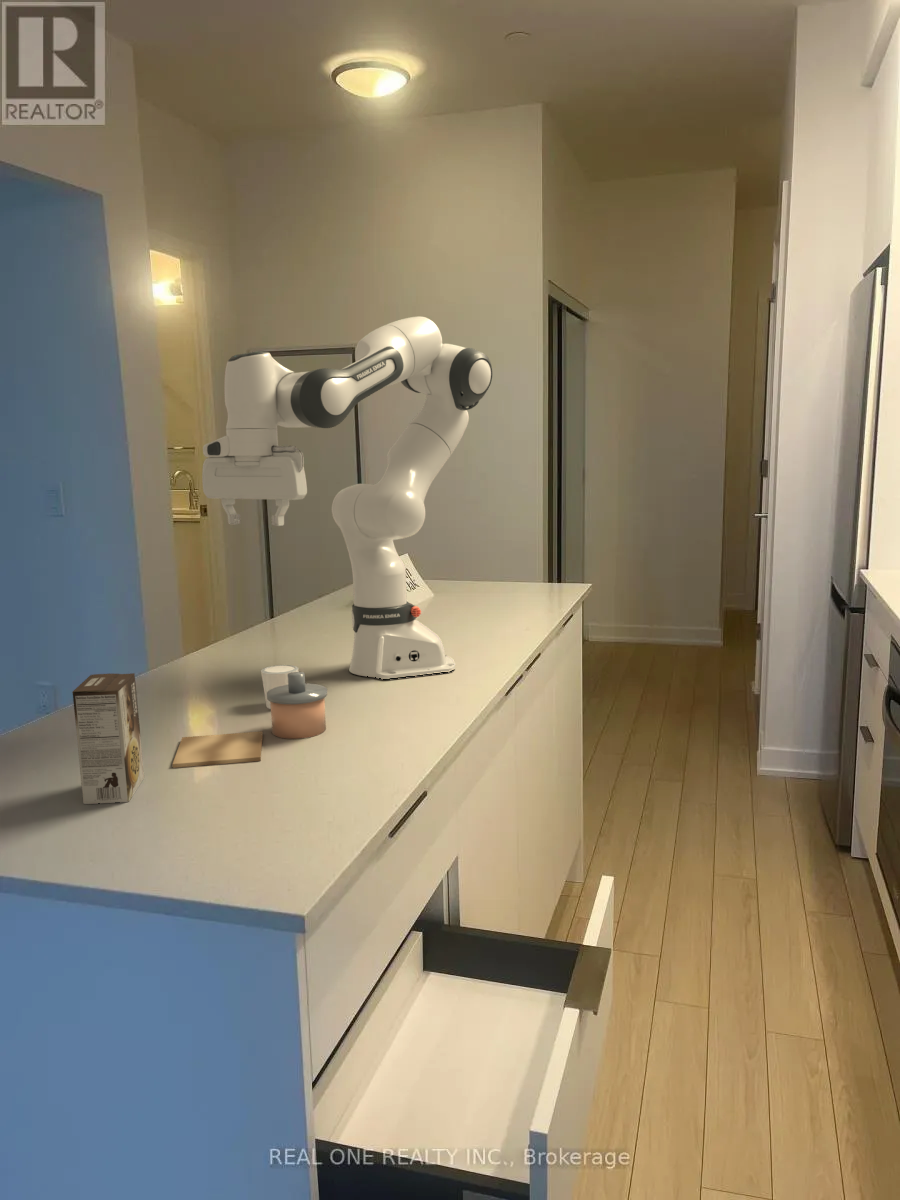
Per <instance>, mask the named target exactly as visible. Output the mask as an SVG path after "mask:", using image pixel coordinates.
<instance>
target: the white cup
mask: <svg viewBox="0 0 900 1200" xmlns="http://www.w3.org/2000/svg"><path fill="white" fill-rule="evenodd" d="M260 672H261V673H260V674H261V678H262V679H261V681H262V685H263V691H264V699H265V706H266V708H267V709H269V710H271V705H270V701H269V700H268V699H267V692H268V691H269V690H270V689H273V688H275V687H279V686H283V685H288V673H291V672H299V666H296V665H292V664H279V665H278V664H277V665H272V666H271V665H270V666H266V667H263V668H262V669H260Z"/></svg>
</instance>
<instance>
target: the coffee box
mask: <svg viewBox="0 0 900 1200" xmlns="http://www.w3.org/2000/svg"><path fill="white" fill-rule="evenodd" d="M135 674H136V673H135V672H133V673H132V672H131V673H94V674H90V675H89V676H87V678H86V679H84V680H83V681H82V682H81V683H80V684H79V685H78V686H77V687H76V688H75V689H73V690H72V691H71V694H72V703H73V711H74V720H75V731H76V741H77V751H78V760H79V761H78V762H79V772H80V773H79V774H80V784H81V792H82V802H83V805H95V804H98V803H100V804H115V802H120V803H130V800H132V798H133V796H134V794H135V793H136V791H137V790H138V789H139V787H140V785H141V784H142V782H143V781H144V779H145V773H144V771H145V770H144V761H143V760H144V759H143V750H142V741H141V728H140V718H139V708H138V707H139V706H138V697H137V695H138V694H137V685H136V676H135Z"/></svg>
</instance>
